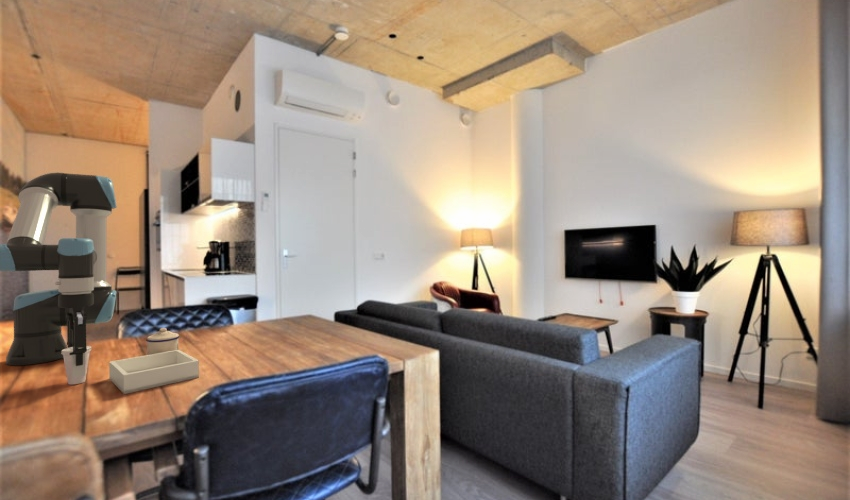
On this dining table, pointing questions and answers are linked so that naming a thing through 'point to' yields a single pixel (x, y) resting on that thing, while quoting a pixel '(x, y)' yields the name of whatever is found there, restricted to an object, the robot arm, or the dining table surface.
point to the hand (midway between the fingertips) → (76, 373)
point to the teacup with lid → (162, 342)
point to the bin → (152, 370)
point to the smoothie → (68, 365)
